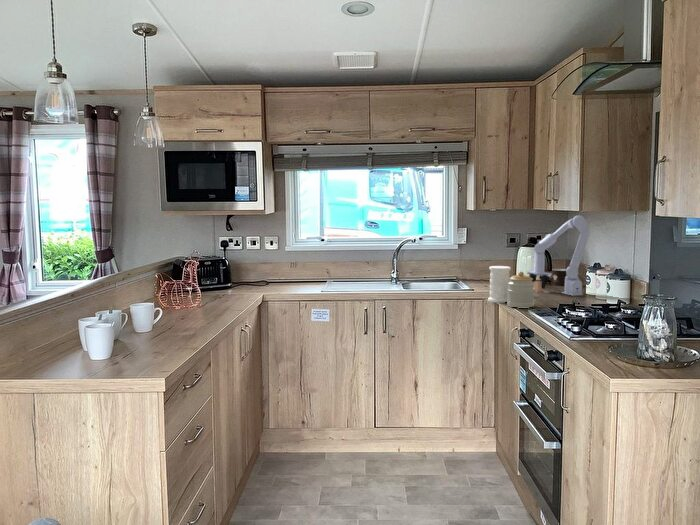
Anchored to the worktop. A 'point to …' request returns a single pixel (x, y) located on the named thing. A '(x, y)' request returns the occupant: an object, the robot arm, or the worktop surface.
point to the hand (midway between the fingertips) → (538, 287)
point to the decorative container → (499, 283)
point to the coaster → (542, 292)
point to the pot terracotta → (538, 286)
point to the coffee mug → (559, 276)
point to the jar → (520, 291)
